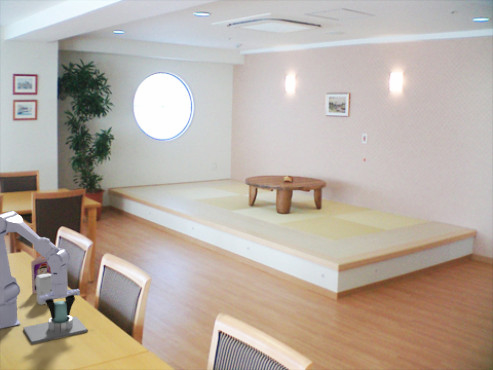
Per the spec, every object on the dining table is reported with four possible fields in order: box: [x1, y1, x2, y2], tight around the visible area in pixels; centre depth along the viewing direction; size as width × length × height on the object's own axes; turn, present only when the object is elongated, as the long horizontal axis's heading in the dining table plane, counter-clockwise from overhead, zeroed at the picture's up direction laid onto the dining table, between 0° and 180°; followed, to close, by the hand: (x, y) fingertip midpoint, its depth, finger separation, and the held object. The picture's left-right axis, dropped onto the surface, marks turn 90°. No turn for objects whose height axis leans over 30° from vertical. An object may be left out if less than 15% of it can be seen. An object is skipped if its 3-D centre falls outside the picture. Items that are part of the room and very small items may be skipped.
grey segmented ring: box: [47, 315, 73, 332], centre depth 201 cm, size 9×9×3 cm
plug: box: [53, 300, 67, 323], centre depth 200 cm, size 5×5×8 cm
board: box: [23, 315, 88, 345], centre depth 200 cm, size 20×14×1 cm
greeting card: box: [30, 254, 51, 295], centre depth 241 cm, size 11×7×15 cm, turn 143°
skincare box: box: [36, 273, 55, 306], centre depth 226 cm, size 6×4×12 cm
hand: (60, 316), depth 200 cm, fingers closed on plug, 5 cm apart
